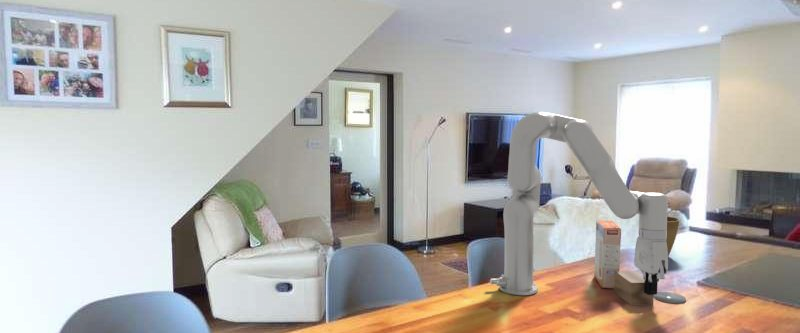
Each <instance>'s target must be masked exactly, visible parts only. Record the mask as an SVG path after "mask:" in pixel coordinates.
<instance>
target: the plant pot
mask: <svg viewBox="0 0 800 333" xmlns="http://www.w3.org/2000/svg"><path fill="white" fill-rule="evenodd" d="M679 226H680V218H678V217H673V216H669V215H667V238H666V242H667V250H668V257H669V256H670V254H671V251H672V250H673V247H674V244H675V240H676V238H677V234H678V230H679Z"/></svg>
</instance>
